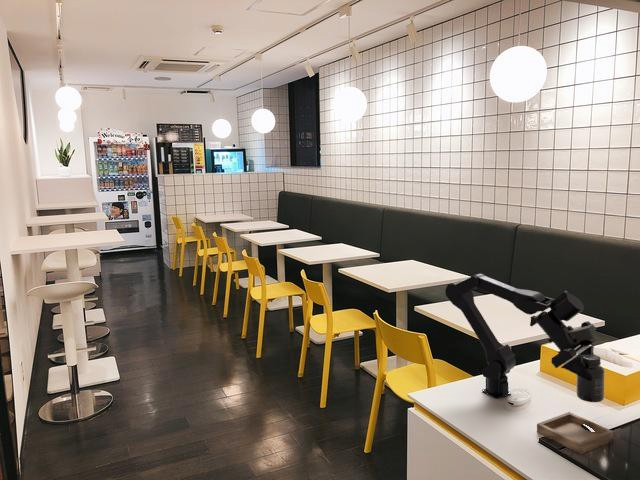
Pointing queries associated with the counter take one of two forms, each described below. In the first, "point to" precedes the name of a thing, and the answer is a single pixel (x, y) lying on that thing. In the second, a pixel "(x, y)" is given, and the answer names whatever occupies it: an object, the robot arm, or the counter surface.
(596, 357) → the supplement bottle
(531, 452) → the counter surface
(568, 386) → the counter surface
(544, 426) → the walnut tray
